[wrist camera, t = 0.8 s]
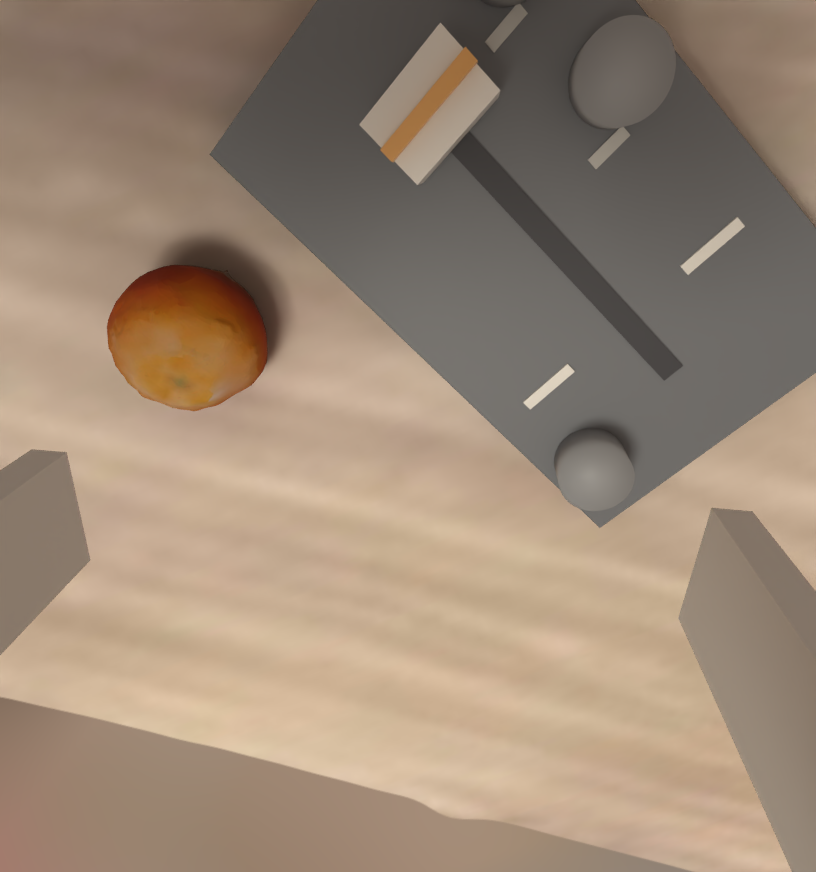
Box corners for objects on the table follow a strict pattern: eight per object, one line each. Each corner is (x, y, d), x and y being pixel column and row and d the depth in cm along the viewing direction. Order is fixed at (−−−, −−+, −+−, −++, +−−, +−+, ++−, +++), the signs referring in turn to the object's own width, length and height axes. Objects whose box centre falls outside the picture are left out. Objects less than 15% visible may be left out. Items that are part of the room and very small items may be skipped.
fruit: (232, 208, 32) (207, 313, 27) (293, 315, 38) (282, 415, 33) (100, 244, 33) (55, 349, 29) (180, 341, 40) (153, 440, 35)
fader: (369, 129, 29) (355, 124, 25) (445, 35, 27) (440, 18, 24) (422, 183, 29) (415, 186, 26) (499, 96, 28) (501, 87, 24)
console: (224, 155, 32) (188, 153, 28) (467, -187, 25) (465, -251, 22) (594, 510, 38) (607, 550, 34) (865, 311, 32) (920, 332, 28)
